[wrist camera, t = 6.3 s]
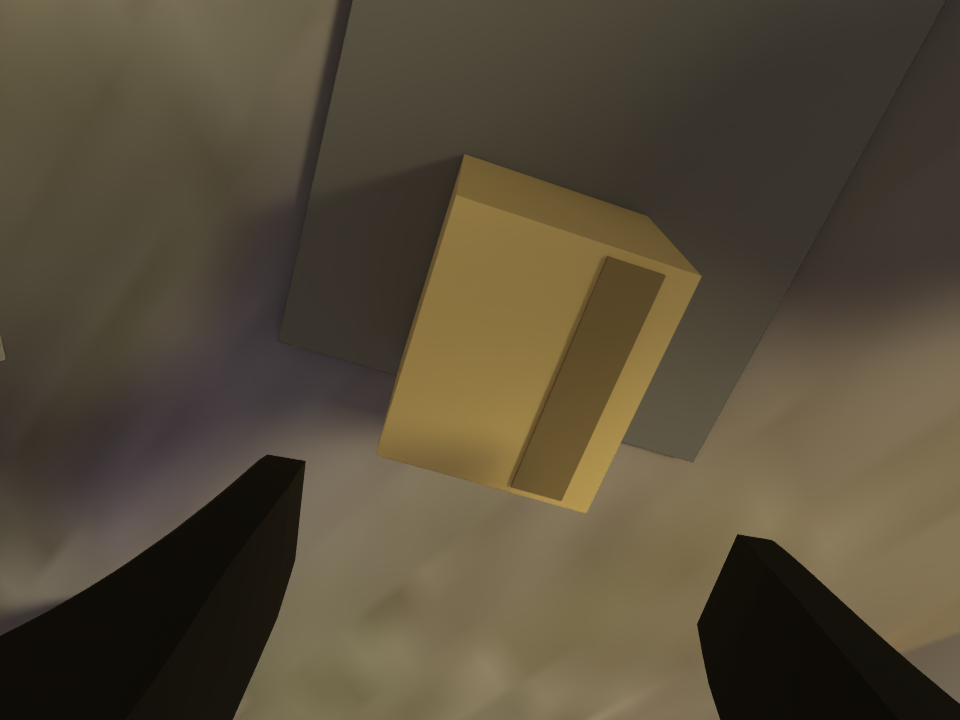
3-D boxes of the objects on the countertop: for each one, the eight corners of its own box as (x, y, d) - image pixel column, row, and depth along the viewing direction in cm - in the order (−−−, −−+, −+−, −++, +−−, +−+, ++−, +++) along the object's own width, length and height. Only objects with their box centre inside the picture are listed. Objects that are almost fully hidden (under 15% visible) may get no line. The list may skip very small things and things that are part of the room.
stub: (647, 215, 18) (703, 278, 13) (564, 407, 20) (587, 516, 16) (464, 154, 17) (456, 196, 13) (401, 359, 20) (374, 457, 15)
